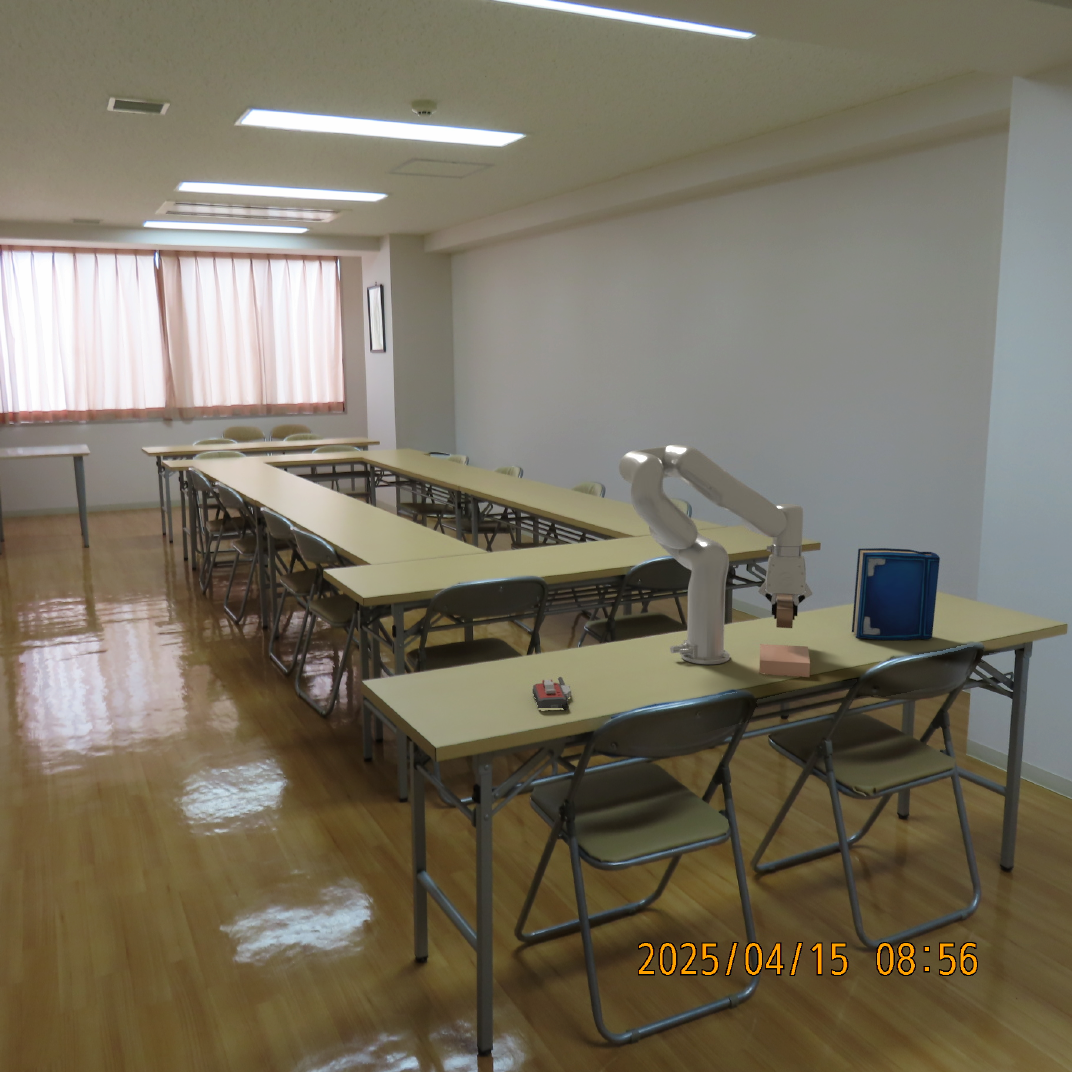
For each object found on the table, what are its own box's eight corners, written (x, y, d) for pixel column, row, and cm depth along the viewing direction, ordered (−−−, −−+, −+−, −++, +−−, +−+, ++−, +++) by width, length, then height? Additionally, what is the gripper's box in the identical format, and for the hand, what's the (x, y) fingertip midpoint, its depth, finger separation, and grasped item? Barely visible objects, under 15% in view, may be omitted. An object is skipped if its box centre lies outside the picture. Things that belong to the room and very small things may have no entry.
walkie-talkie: (577, 712, 207) (564, 683, 227) (577, 693, 206) (564, 666, 226) (538, 715, 206) (528, 685, 226) (538, 696, 205) (528, 667, 225)
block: (792, 628, 239) (793, 609, 238) (776, 627, 240) (777, 608, 239) (791, 611, 256) (792, 593, 255) (776, 610, 257) (777, 592, 256)
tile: (807, 661, 241) (809, 678, 228) (759, 658, 244) (759, 675, 231) (807, 646, 240) (809, 663, 227) (760, 644, 243) (759, 660, 230)
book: (929, 634, 262) (934, 547, 258) (937, 641, 255) (943, 552, 251) (850, 633, 264) (855, 547, 260) (856, 640, 257) (861, 552, 253)
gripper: (753, 552, 243) (751, 620, 246) (820, 555, 239) (817, 623, 242) (754, 547, 250) (752, 613, 253) (819, 549, 246) (816, 616, 249)
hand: (784, 617), depth 247 cm, fingers closed on block, 4 cm apart
